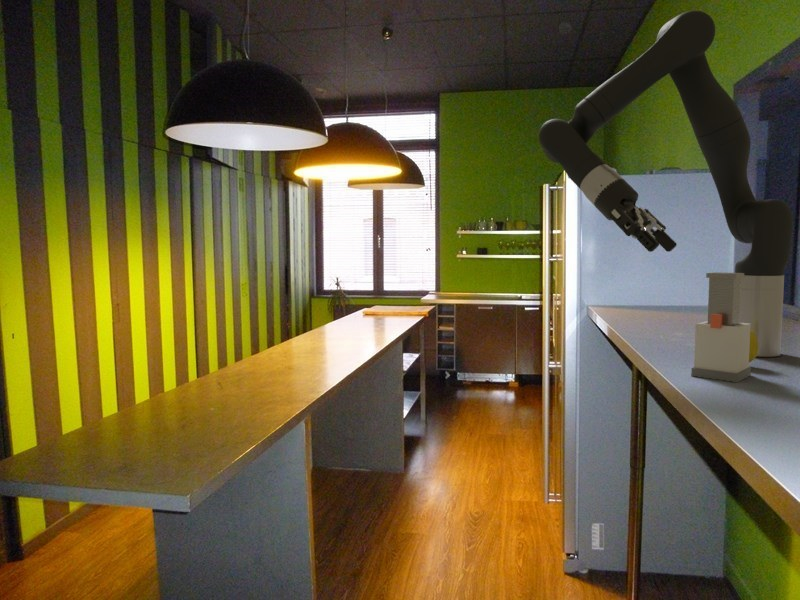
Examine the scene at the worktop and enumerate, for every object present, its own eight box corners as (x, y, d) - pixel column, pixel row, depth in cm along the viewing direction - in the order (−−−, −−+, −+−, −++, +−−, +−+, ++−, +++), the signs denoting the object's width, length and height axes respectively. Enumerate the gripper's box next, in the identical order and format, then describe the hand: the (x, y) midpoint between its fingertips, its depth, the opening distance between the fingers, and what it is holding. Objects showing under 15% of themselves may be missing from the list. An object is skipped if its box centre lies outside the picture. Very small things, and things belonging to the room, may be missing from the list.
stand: (706, 369, 114) (708, 309, 113) (750, 375, 109) (753, 312, 108) (690, 376, 108) (693, 313, 107) (736, 382, 103) (739, 316, 102)
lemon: (755, 370, 113) (757, 328, 113) (722, 367, 117) (724, 326, 116) (759, 366, 118) (761, 325, 117) (727, 362, 121) (729, 323, 120)
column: (711, 362, 112) (715, 272, 111) (740, 365, 109) (744, 273, 107) (702, 366, 109) (706, 273, 107) (731, 369, 105) (736, 273, 104)
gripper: (604, 174, 114) (664, 233, 107) (636, 180, 125) (692, 234, 117) (578, 204, 119) (634, 263, 111) (611, 207, 129) (664, 261, 122)
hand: (664, 248), depth 114 cm, fingers open, 8 cm apart
